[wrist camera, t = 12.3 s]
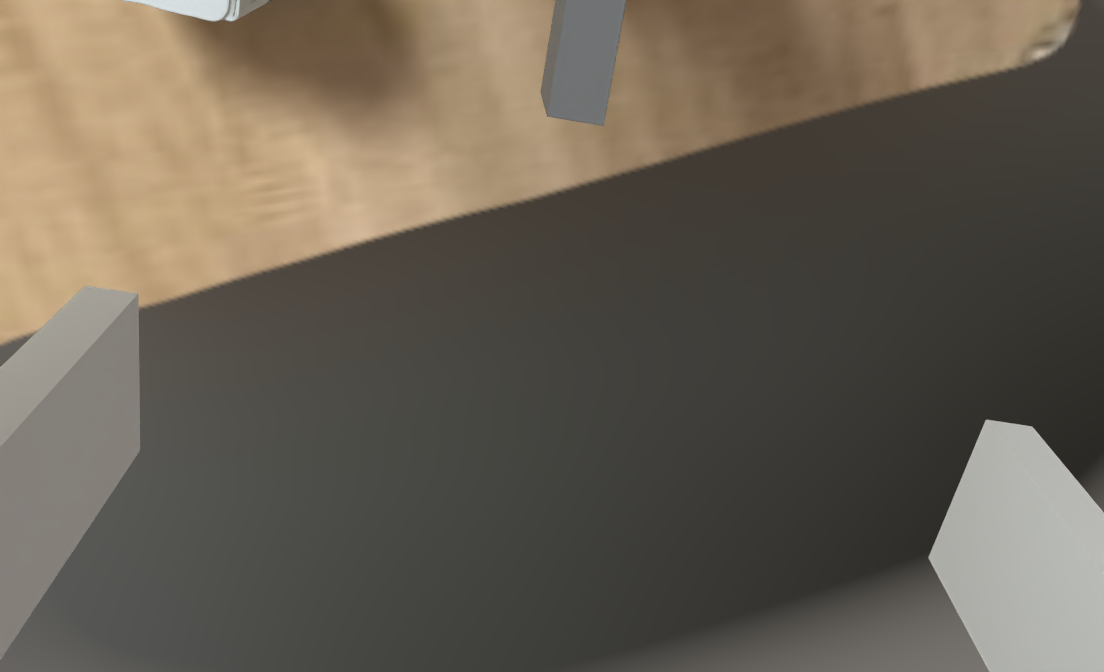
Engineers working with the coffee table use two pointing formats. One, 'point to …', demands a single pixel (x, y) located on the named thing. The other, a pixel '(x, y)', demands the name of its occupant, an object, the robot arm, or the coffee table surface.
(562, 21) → the lid flap
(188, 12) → the ink box
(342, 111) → the coffee table surface
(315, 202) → the coffee table surface
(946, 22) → the coffee table surface
